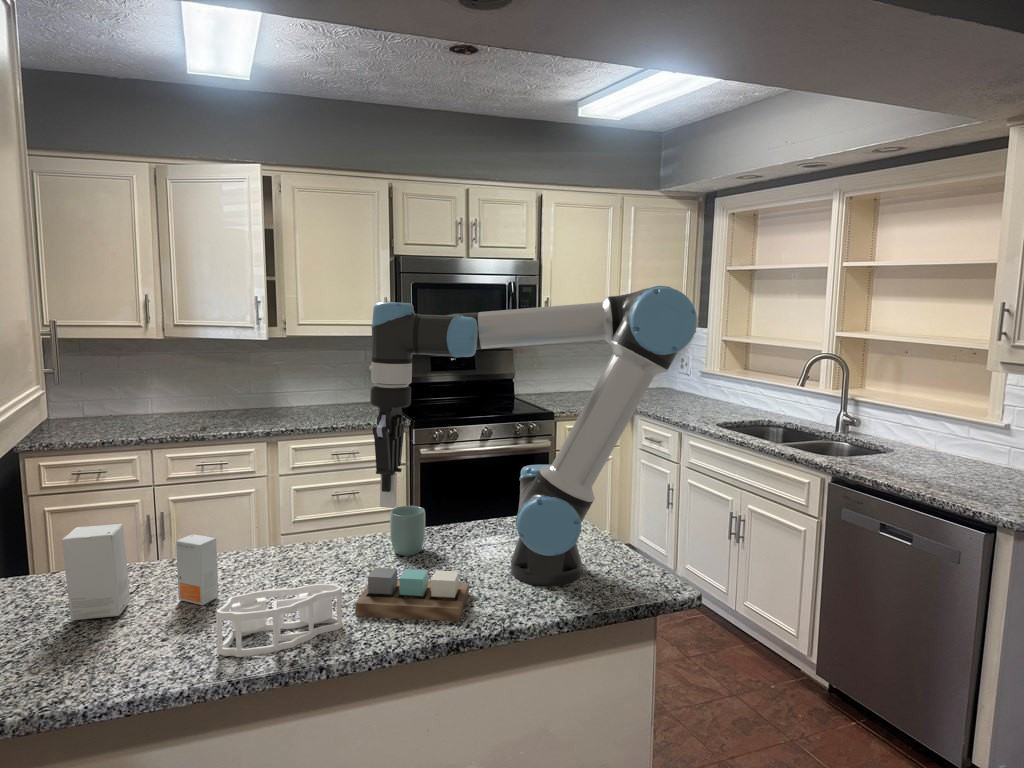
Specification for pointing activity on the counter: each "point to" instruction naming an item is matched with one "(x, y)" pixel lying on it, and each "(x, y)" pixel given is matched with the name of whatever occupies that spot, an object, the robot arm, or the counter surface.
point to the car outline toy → (278, 617)
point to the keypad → (412, 605)
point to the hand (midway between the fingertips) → (387, 506)
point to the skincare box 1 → (96, 571)
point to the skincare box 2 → (197, 569)
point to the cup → (407, 529)
